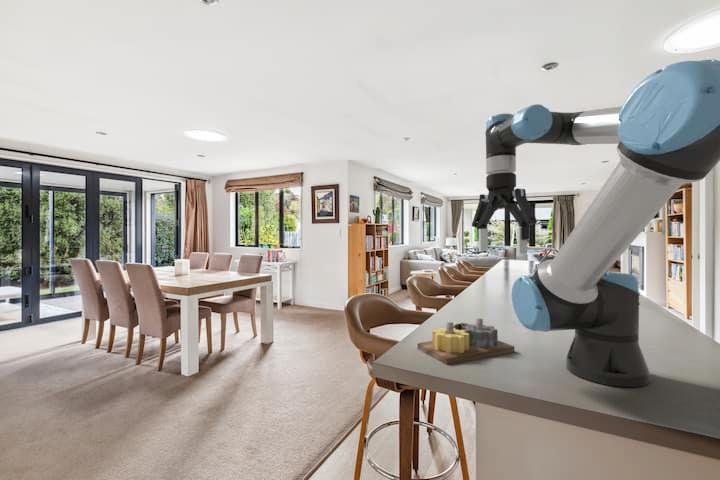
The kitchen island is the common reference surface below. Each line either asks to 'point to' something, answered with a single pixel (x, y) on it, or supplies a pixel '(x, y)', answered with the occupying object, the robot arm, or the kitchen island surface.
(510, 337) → the kitchen island surface
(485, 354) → the gear board
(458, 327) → the regulator
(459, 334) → the mustard gear
